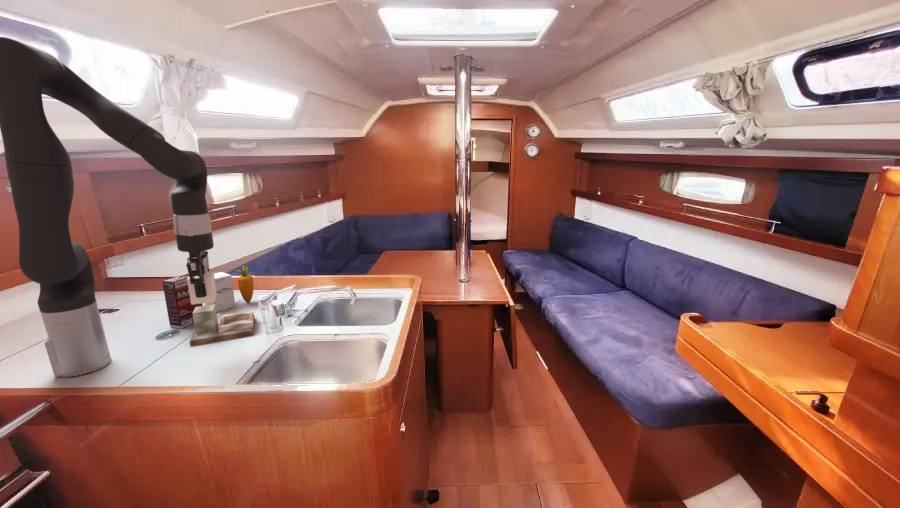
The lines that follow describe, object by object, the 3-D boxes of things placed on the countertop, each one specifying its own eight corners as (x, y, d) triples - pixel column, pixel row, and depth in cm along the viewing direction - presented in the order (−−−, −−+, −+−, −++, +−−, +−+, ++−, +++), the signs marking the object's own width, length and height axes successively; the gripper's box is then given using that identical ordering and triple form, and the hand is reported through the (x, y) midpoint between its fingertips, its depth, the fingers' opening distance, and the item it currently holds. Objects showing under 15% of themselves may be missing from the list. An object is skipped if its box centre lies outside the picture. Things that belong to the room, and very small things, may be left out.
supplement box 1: (181, 329, 107) (173, 282, 103) (169, 327, 107) (160, 281, 103) (206, 317, 115) (198, 274, 111) (194, 316, 116) (186, 273, 112)
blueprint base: (190, 346, 97) (185, 319, 95) (198, 327, 108) (194, 302, 106) (253, 334, 104) (250, 309, 102) (254, 318, 115) (251, 295, 113)
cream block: (191, 304, 86) (187, 279, 84) (194, 297, 90) (190, 273, 89) (214, 301, 88) (210, 276, 87) (216, 295, 93) (213, 271, 91)
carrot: (251, 306, 125) (246, 268, 121) (238, 305, 125) (232, 268, 121) (258, 301, 130) (254, 264, 126) (246, 300, 130) (241, 264, 126)
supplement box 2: (214, 313, 118) (209, 279, 115) (204, 308, 122) (199, 275, 119) (236, 306, 124) (231, 274, 121) (226, 302, 128) (221, 271, 125)
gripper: (181, 227, 89) (191, 286, 93) (167, 237, 77) (179, 305, 81) (215, 226, 93) (223, 283, 97) (207, 235, 80) (216, 300, 85)
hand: (203, 293), depth 89 cm, fingers closed on cream block, 5 cm apart
